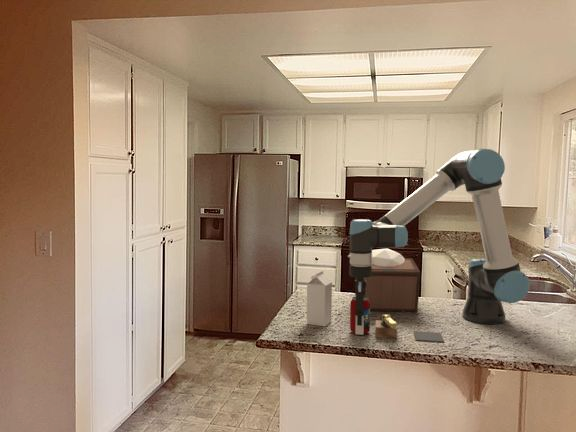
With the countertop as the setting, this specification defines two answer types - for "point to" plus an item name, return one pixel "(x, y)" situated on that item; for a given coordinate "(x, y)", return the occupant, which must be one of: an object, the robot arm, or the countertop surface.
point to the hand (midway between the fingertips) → (359, 330)
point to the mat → (428, 336)
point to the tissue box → (392, 282)
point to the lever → (388, 321)
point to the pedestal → (385, 330)
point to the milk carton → (319, 300)
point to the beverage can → (365, 310)
